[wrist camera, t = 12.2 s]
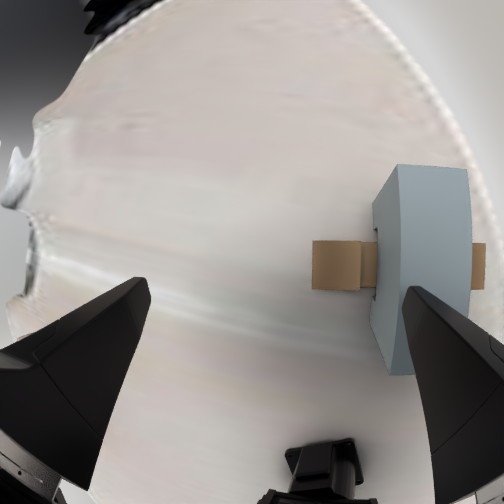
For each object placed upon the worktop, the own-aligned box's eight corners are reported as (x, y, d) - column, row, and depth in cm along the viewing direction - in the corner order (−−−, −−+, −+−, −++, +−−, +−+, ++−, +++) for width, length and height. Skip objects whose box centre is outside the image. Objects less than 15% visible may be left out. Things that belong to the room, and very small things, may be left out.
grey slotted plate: (412, 322, 19) (457, 371, 10) (369, 322, 20) (389, 375, 11) (415, 204, 19) (467, 169, 9) (372, 203, 20) (397, 164, 11)
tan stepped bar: (463, 244, 18) (485, 243, 14) (462, 283, 18) (484, 289, 14) (317, 242, 21) (312, 240, 18) (316, 282, 21) (311, 289, 18)
